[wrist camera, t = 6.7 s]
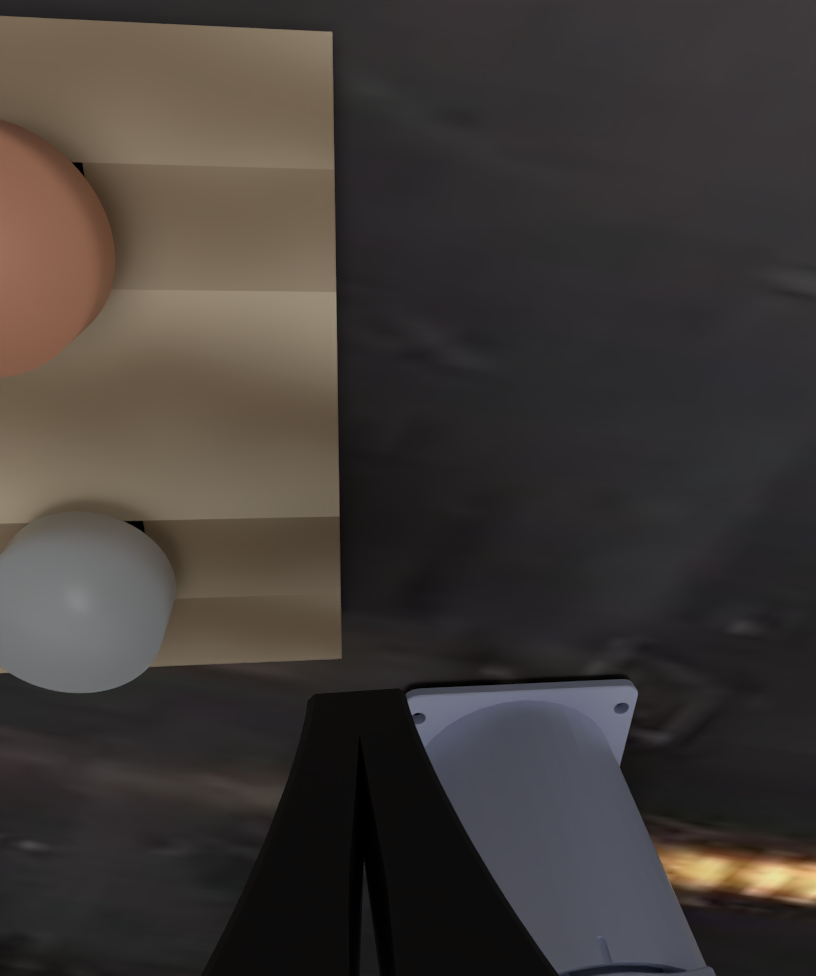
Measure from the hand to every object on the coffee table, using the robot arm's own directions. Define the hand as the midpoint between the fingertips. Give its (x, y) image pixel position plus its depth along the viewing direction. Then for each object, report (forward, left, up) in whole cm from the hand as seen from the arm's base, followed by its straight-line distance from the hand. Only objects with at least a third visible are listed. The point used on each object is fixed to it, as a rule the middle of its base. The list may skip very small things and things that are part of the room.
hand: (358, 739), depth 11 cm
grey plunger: (-2, +6, -9) cm, 11 cm away
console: (+2, +6, -10) cm, 12 cm away
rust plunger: (+6, +6, -9) cm, 12 cm away
